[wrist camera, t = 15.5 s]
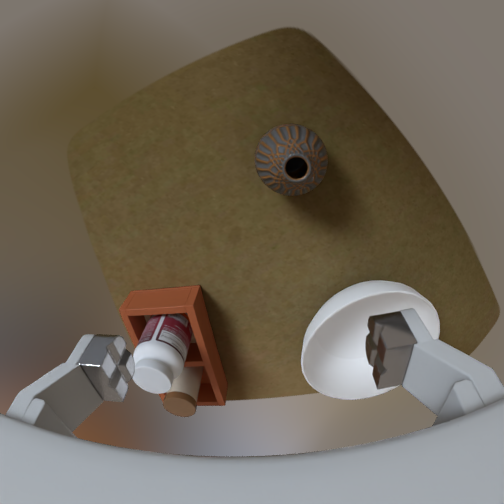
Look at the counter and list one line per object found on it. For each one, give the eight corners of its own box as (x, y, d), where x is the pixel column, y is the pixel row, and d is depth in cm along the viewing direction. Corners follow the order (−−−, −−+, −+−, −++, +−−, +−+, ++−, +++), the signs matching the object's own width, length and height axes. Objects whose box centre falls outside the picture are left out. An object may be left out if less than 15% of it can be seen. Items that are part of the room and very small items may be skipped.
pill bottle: (157, 338, 42) (134, 395, 32) (146, 303, 39) (117, 359, 29) (198, 339, 42) (183, 399, 32) (190, 302, 39) (169, 363, 29)
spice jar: (169, 365, 45) (156, 405, 37) (186, 351, 43) (174, 393, 36) (192, 380, 46) (183, 420, 38) (210, 367, 44) (202, 409, 37)
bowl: (418, 344, 42) (434, 376, 36) (309, 376, 45) (314, 412, 39) (417, 243, 35) (443, 270, 29) (281, 281, 38) (284, 316, 32)
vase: (248, 131, 31) (243, 136, 23) (312, 117, 30) (329, 117, 22) (264, 192, 33) (264, 217, 26) (325, 178, 32) (345, 199, 25)
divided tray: (170, 384, 47) (164, 404, 43) (131, 290, 40) (118, 309, 35) (227, 383, 47) (225, 405, 42) (200, 284, 39) (193, 305, 35)
